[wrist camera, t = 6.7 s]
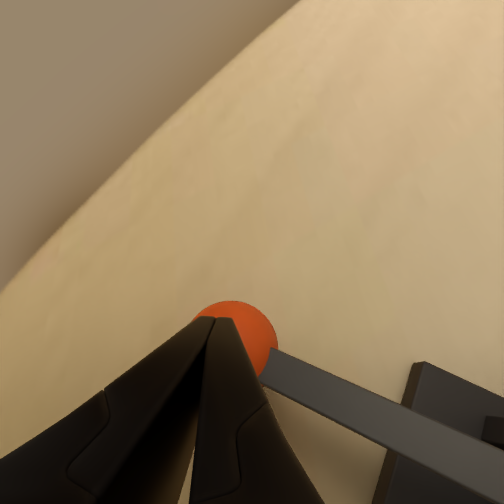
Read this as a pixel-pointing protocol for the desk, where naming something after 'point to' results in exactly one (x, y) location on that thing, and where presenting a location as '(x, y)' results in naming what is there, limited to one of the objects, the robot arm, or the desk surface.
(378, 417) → the switch
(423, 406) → the switch bracket
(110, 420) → the robot arm
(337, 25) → the desk surface
